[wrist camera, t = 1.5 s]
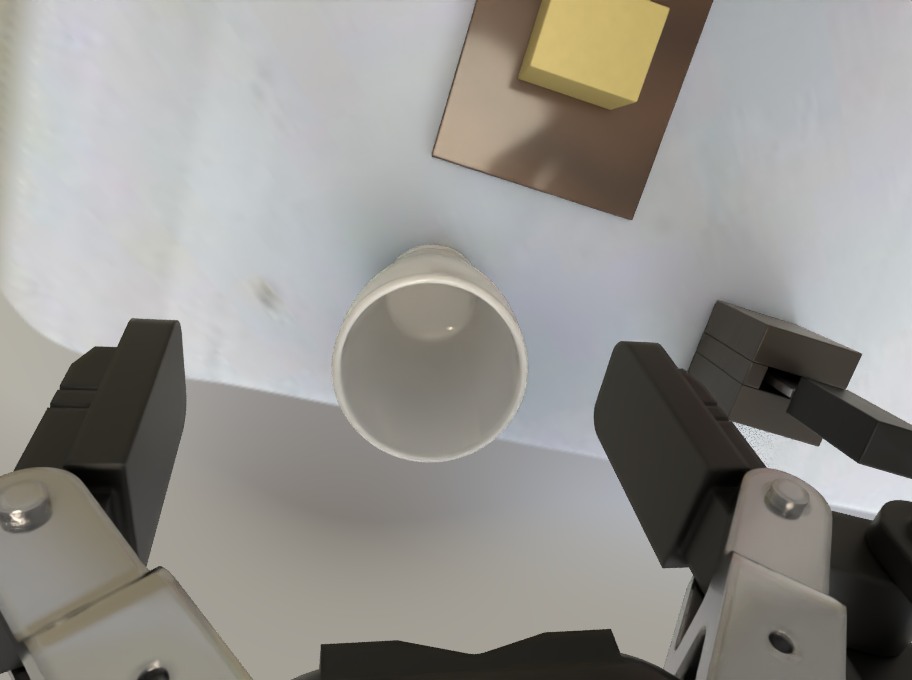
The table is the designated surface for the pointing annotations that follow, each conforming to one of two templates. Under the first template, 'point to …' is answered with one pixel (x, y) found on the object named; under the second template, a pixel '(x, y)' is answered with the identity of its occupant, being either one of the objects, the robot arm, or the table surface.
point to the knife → (848, 422)
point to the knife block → (765, 367)
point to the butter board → (560, 112)
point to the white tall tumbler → (430, 358)
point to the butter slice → (594, 48)
